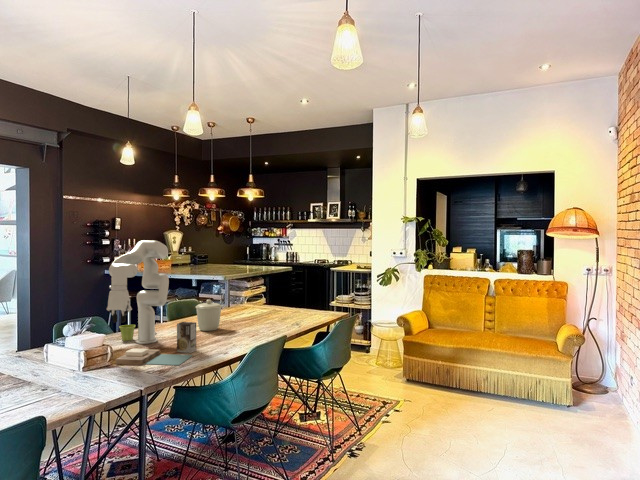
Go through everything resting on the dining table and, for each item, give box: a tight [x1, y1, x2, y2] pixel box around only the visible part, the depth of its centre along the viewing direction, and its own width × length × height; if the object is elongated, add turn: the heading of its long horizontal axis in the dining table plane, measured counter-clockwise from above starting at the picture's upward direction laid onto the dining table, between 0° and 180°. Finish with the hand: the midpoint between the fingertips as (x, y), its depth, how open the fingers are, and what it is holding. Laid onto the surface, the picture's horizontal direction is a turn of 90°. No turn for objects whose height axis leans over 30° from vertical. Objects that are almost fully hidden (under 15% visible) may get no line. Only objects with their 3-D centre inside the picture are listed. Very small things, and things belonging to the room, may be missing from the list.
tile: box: [124, 348, 149, 356], centre depth 232 cm, size 7×9×2 cm
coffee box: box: [176, 321, 197, 354], centre depth 248 cm, size 9×6×16 cm
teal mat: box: [144, 353, 193, 367], centre depth 231 cm, size 18×18×1 cm
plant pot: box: [118, 324, 136, 342], centre depth 274 cm, size 9×9×9 cm
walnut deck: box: [115, 348, 161, 366], centre depth 232 cm, size 20×14×2 cm
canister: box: [195, 299, 223, 332], centre depth 305 cm, size 18×18×21 cm
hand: (119, 322), depth 233 cm, fingers open, 3 cm apart
